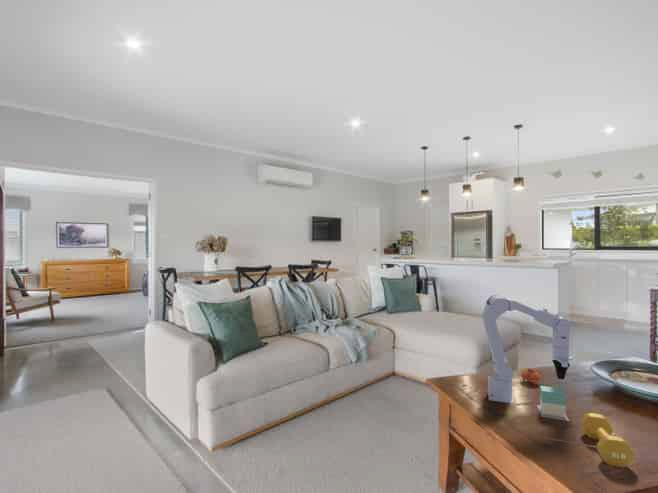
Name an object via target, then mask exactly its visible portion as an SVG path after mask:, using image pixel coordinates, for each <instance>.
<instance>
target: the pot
mask: <svg viewBox="0 0 658 493" xmlns="http://www.w3.org/2000/svg"><path fill="white" fill-rule="evenodd" d="M520 375H521V377H522V378H521V379H522V381H523V382H525V381H526V382H529V383H532V384H533V386H535V385H536V384H537V382H539V381H540V380H541V375H540V374H539V373H538V372H536V370H533V369H530V368H527V369H526V370H523V371H522V372H521V374H520Z"/></svg>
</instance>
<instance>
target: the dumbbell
mask: <svg viewBox="0 0 658 493" xmlns="http://www.w3.org/2000/svg"><path fill="white" fill-rule="evenodd" d="M579 425H580V427H581V428H582V430H583V432H584V433H585V434H586V436H587V437H588V438H589V439H591V440H596V441H597V444H596V450H597V452H598V453H599V455H600V456H601V458H602V460H604V462H605V463H606V464H607V465H609V466H611V467H616V468H617V467H618V468H627V467H628V466H630V465H631V464H632V462H633V461H634V459H635V456H636V455H635V453H634V451H633V450H632V448H631V446H630V445H629V444H628V443H627V441H626V440H625V439H624V438H622V437H620V436H615V435H612V434H613V433H614V429H613V427H612V425H611V423H610V422H609V420H608V419H607V418H606V417H605V416H604V415H603V414H600V413H594V412H587V413H586V414H585V415H583V417H582V418H581V419H580V422H579Z"/></svg>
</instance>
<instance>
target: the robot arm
mask: <svg viewBox="0 0 658 493" xmlns="http://www.w3.org/2000/svg"><path fill="white" fill-rule="evenodd" d="M507 311H509V312H512V311H518V312H519V313H522V314H525V315H528V316H530V317H532V318H533V320H534V322H537V323H539V324H542V325H544V326H546V327H549V328H552V354H551V358H552V360H551V361H552V363H553V365H554V368H555V373H556V377H557V379H558V380H565V377H566V373H567V371H568V369H570V368H569V367H570V366H571V364H570V361H573V357H572V356H570V332H571V331H572V329H573V326H572V323H571V321H570V320H568V319H567V318H564V317H562V316H561V315H560V314H557V313H553V312H550V311H549V310H548V309H546V308H536V309H535V308H532V307H530V306H528V305H526V304H523V303H521V302H519V301H517V300H514V299H511V298H508V297H505V296H500V295H499V294H493V295H491V296H489V297H488V299H486V301H485V307H484V309H483V313H482V315H481V316H482V317H481V318H482V321H483V325H484V328H485V329H484V330H485V332H486V336H487V341H488V343H489V344H488V345H489V347H490V351H491V355H492V356H491V359H492V364H491V367H492V370H493V371H494V372H493V375H490V376H489V375H488V376H487V390H486V391H487V394H488V400H489V401H492V402H501V403H507V404H514V403H515V401H514V398H513V397H514V396H513V377H514V370H513V369H512V368H511V367H510V365H509V362H508V360H507V357H506V354H505V351H504V346H503V343H502V340H501V335H500V332H499V328H498V324H497V319H498V318H499V317H500V316H501V315H503V314H505V313H506V312H507Z"/></svg>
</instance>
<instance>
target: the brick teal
mask: <svg viewBox="0 0 658 493" xmlns="http://www.w3.org/2000/svg"><path fill="white" fill-rule="evenodd" d="M540 398H541V400H542V402H543V403H550V404H557V405H564V406H565V407H566V393H565V391H564V389H563V388H560V387H559V388H558V387H553V386H552V387H551V386H543V385H540V386H539V399H540Z"/></svg>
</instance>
